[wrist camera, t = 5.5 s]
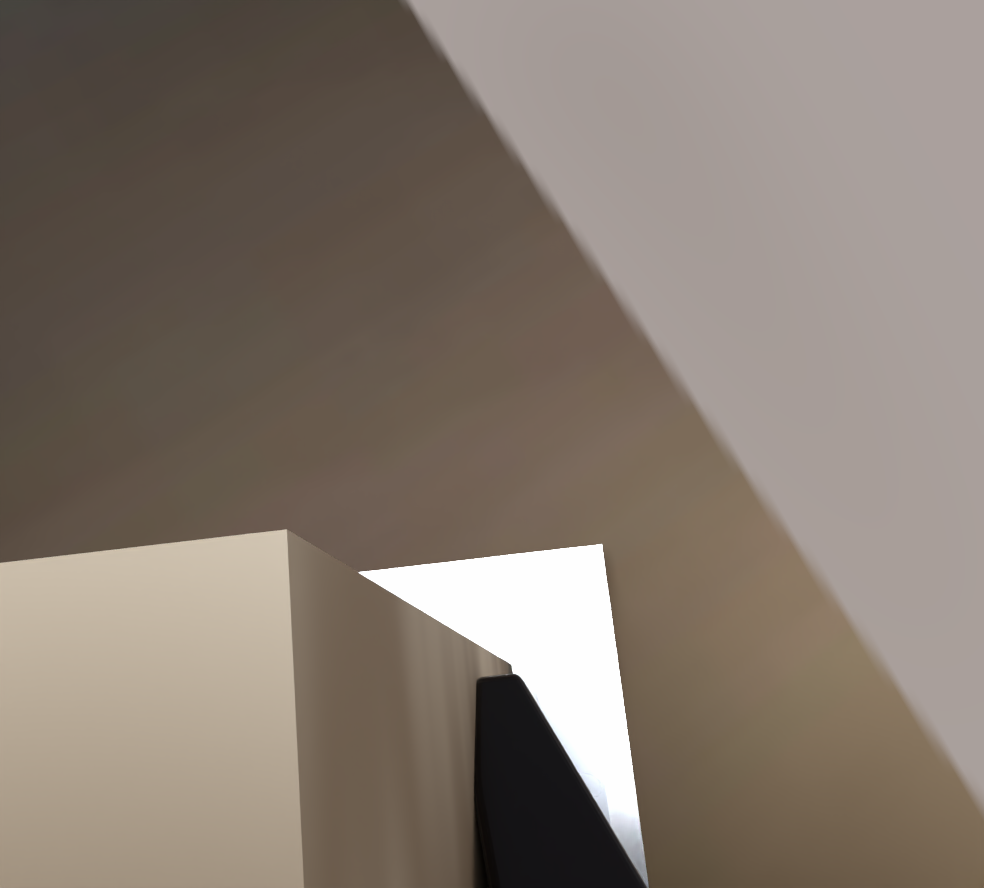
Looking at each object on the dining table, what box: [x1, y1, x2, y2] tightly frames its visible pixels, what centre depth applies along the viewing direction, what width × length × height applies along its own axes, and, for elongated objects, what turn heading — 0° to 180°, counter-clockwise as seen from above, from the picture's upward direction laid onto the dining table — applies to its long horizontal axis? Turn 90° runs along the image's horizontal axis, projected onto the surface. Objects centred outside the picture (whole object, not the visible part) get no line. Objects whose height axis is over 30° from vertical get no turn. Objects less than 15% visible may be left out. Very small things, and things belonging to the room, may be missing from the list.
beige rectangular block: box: [0, 530, 513, 888], centre depth 8 cm, size 4×2×13 cm, turn 6°
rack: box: [358, 544, 649, 888], centre depth 15 cm, size 8×6×4 cm
